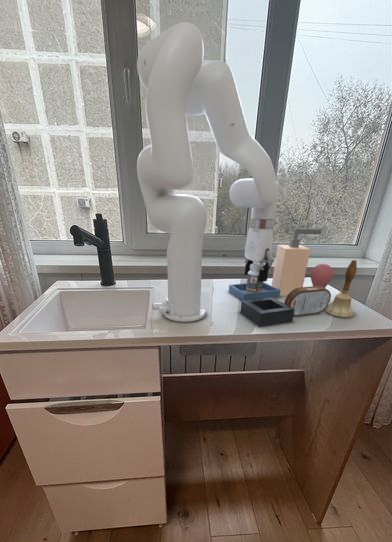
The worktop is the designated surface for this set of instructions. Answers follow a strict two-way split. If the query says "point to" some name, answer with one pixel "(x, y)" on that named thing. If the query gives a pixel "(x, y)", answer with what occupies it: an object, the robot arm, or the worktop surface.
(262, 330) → the worktop surface
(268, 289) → the tray
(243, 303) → the socket base
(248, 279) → the pill bottle
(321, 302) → the tin
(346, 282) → the hand bell
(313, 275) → the light bulb
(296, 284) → the soap dispenser
